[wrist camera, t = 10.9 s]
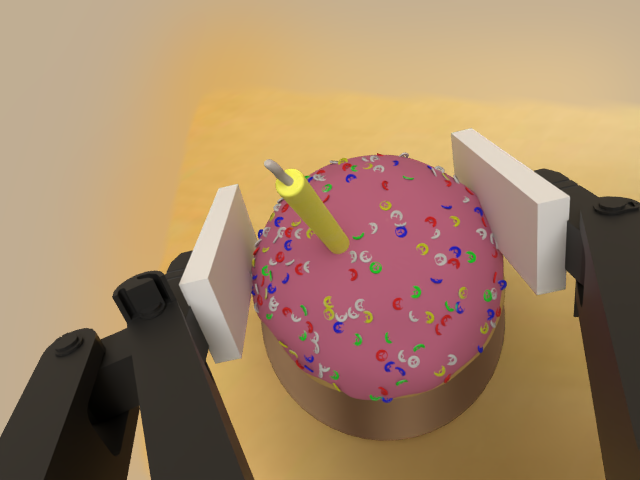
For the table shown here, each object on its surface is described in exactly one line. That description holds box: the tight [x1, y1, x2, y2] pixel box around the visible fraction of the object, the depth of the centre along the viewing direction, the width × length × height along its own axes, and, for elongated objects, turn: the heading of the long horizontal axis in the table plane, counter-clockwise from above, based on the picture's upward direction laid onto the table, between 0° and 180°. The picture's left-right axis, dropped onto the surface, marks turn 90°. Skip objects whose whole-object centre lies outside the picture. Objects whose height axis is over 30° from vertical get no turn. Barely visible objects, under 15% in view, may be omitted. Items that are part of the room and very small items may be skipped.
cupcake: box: [249, 153, 507, 403], centre depth 14 cm, size 9×8×12 cm
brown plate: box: [261, 304, 505, 440], centre depth 29 cm, size 15×15×3 cm
